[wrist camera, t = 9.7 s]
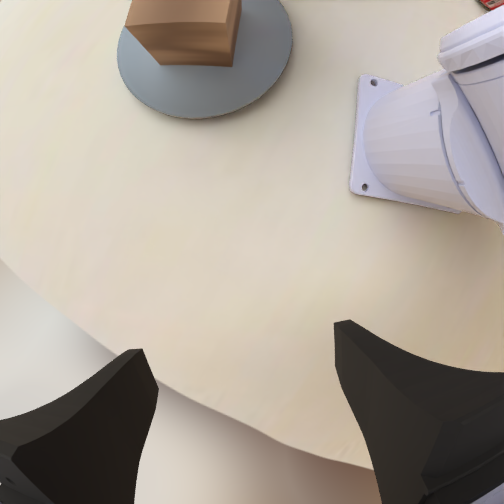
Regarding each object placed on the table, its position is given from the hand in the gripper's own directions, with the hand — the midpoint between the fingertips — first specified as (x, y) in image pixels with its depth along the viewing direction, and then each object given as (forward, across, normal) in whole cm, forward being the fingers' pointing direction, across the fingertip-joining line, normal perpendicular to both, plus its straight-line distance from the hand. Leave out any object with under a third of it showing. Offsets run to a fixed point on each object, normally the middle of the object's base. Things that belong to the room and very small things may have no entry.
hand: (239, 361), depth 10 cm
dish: (+9, 0, -16) cm, 18 cm away
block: (+8, 0, -16) cm, 18 cm away
